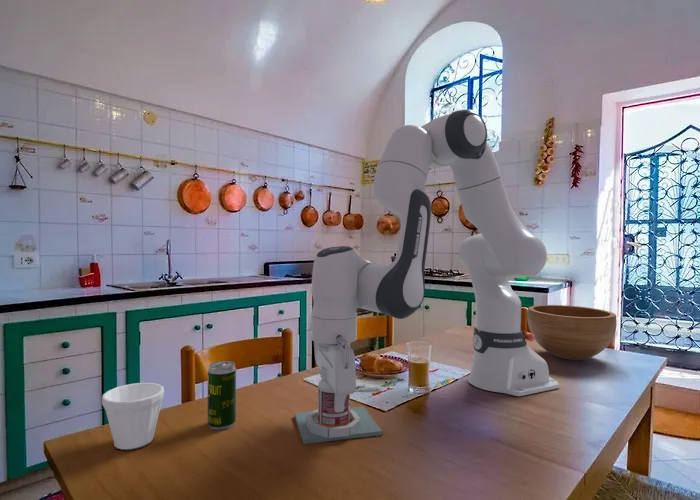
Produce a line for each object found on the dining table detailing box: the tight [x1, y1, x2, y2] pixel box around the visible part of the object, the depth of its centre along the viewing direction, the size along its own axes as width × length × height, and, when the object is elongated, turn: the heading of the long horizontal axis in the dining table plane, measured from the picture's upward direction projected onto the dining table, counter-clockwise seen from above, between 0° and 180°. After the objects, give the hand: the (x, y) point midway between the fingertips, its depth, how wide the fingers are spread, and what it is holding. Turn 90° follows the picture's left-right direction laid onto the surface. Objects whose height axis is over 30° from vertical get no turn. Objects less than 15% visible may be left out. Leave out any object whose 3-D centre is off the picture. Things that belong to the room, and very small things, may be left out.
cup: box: [101, 382, 165, 451], centre depth 77 cm, size 10×10×9 cm
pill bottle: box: [317, 366, 351, 427], centre depth 83 cm, size 6×6×11 cm
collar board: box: [294, 406, 383, 445], centre depth 85 cm, size 15×12×2 cm
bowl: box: [527, 304, 617, 361], centre depth 136 cm, size 25×25×15 cm
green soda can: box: [207, 360, 237, 431], centre depth 84 cm, size 5×5×12 cm
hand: (333, 401), depth 83 cm, fingers open, 8 cm apart
